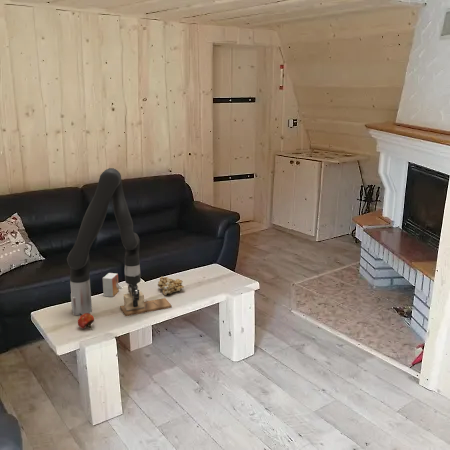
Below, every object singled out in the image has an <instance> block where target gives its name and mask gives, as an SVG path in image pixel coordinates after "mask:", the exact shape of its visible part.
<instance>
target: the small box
mask: <svg viewBox="0 0 450 450" xmlns="http://www.w3.org/2000/svg"><path fill="white" fill-rule="evenodd" d="M102 290H103V291H102V292H103V296H104V297H112V298H113V297H114V296H115V295H117V293H119V291H120V289H119V274H118V273H113V272H108V273H107V274H106V275H105V276H103V277H102Z"/></svg>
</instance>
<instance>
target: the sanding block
mask: <svg viewBox="0 0 450 450" xmlns="http://www.w3.org/2000/svg"><path fill="white" fill-rule="evenodd" d="M133 294H134V293H133ZM135 298H136V297H135ZM144 302H145V294H144V293H143V292H142V291H140V290H139V300H138V306H137V307H133V297H132V295H131V293H129V292H127V293H124V294H123V306H124V307H125V309H126V311H130V310H135V309H141V308H144Z"/></svg>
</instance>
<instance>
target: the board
mask: <svg viewBox="0 0 450 450" xmlns="http://www.w3.org/2000/svg"><path fill="white" fill-rule="evenodd" d="M171 308H172V305H171V303H170V302H169V300H167V298H166V297H163V298H158V299H151V300H146V301H144V308H141V309H135V310H130V311H126V309H125V307H124V305H120V306H119V309H120V310H121V313H122V314H123V315H124V317H129V316H134V315H139V314H145V313H149V312H151V313H152V312H156V311H159V310H165V309H171Z"/></svg>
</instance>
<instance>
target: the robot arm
mask: <svg viewBox="0 0 450 450" xmlns="http://www.w3.org/2000/svg"><path fill="white" fill-rule="evenodd" d="M91 199H92V200H91V201H90V203H89V205H88V207H87V209H86V211H85V214H84V215H83V218H82V221H81V223H80V224H81V225H80V226H79V227H80V228H79V229H78V234H77V238H76V240H75V241H74V244H73V247H72V248H71V250H70V252H69V253H68V255H67V258H66V262H67V265H68V267H69V268H70V272H69V282H70V285H69V286H70V292H71V293H70V301H71V312H72V314H73V316H80V313H81V314H82V315H83V314H85V313H88V314H91V313H92V311H93V307H92V306H93V305H92V304H93V303H92V292H91V278H90V271H91V267H90V254H89V253H90V252H91V251H90V250H91V248H92V245H93V243H94V241H95V240H96V239H97V236H98V234H99V233H100V230H101V229H102V227H103V224H104V222H105V219H106V216H107V214H108V209H109V208H108V207H109V205H110V204H109V203H110V201H111V202H112V207H113V213H114V216H115V220H116V223H117V226H118V228H119V235H120V239H121V243H122V245H123V247H124V248H125V254H124V282H125V283H126V284H127V290H128V292H127V293H131V295H132V297H133V307H137V306H138V300H139V292H140V289H139V285H138V284H140V283H141V281H142V280H141V267H140V266H141V265H140V246H141V245H140V242H141V241H140V237H139V235H138V233H136V232H135V231H134V222H133V219H132V216H131V211H130V210H129V207H128V206H129V205H128V203H127V201H126V198H125V193H124V188H123V182H122V175H121V173H120V171H118V170H117V169H116V168H113V167H112V168H111V167H109V168H106V169H105V170H104V171H102V172H101V173H100V175H99V179H98V182H97V186H96V189H95V193H94V196H93V198H91ZM133 293H134V294H133ZM135 297H136V298H135Z"/></svg>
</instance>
